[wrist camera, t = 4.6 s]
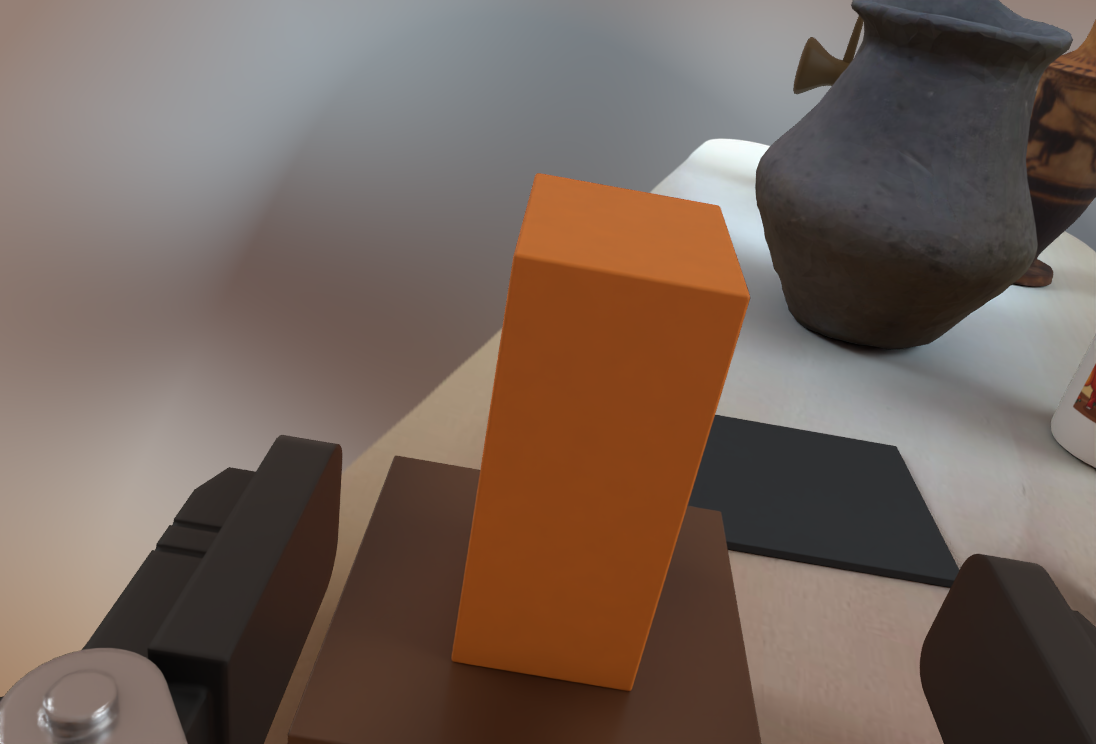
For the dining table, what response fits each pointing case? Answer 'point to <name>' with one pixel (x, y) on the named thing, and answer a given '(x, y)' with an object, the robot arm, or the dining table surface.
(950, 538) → the dining table surface
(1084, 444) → the milk bottle
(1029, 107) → the dark grey clay pot
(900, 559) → the mat
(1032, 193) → the vase
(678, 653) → the shelf
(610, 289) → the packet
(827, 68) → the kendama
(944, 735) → the robot arm
